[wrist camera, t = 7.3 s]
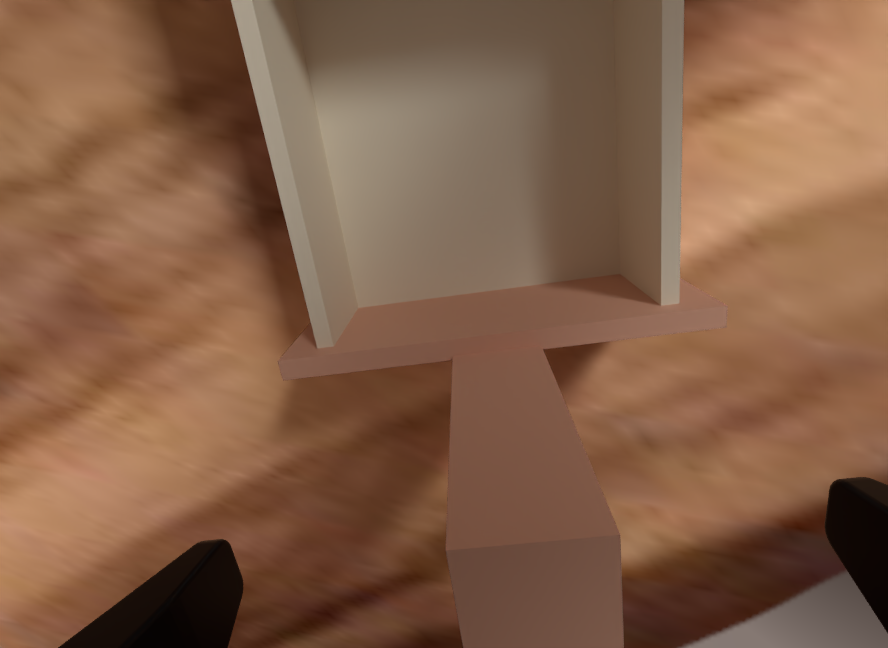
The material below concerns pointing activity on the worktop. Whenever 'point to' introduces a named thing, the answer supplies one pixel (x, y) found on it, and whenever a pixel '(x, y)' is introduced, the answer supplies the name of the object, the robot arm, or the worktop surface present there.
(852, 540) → the robot arm
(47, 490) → the worktop surface
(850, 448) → the worktop surface
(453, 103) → the mailer tray
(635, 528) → the worktop surface
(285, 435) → the worktop surface
